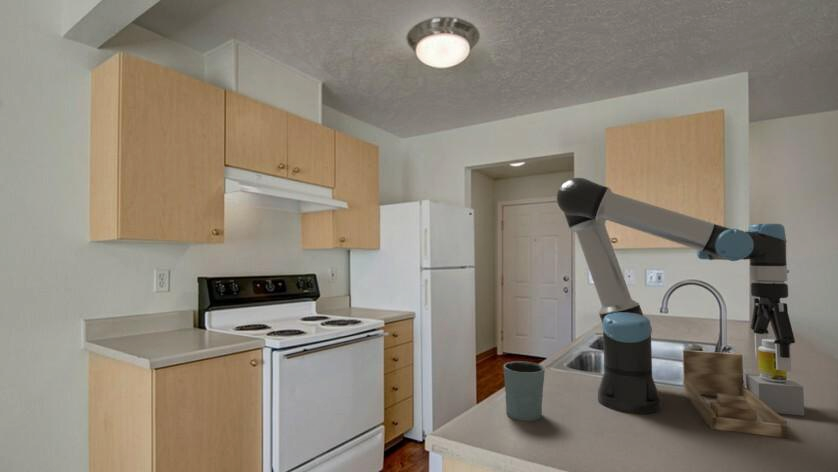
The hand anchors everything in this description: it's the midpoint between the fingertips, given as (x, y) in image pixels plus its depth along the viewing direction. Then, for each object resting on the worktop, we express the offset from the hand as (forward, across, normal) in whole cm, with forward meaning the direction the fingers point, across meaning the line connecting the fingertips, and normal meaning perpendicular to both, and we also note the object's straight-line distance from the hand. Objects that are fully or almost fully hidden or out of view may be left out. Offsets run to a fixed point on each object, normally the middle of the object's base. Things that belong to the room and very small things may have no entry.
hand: (772, 363), depth 110 cm
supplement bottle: (+4, 0, 0) cm, 4 cm away
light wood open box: (+11, -8, +12) cm, 18 cm away
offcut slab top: (+9, -18, +14) cm, 24 cm away
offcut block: (+7, -18, +14) cm, 23 cm away
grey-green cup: (+11, -28, +60) cm, 67 cm away
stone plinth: (+11, 0, 0) cm, 11 cm away
